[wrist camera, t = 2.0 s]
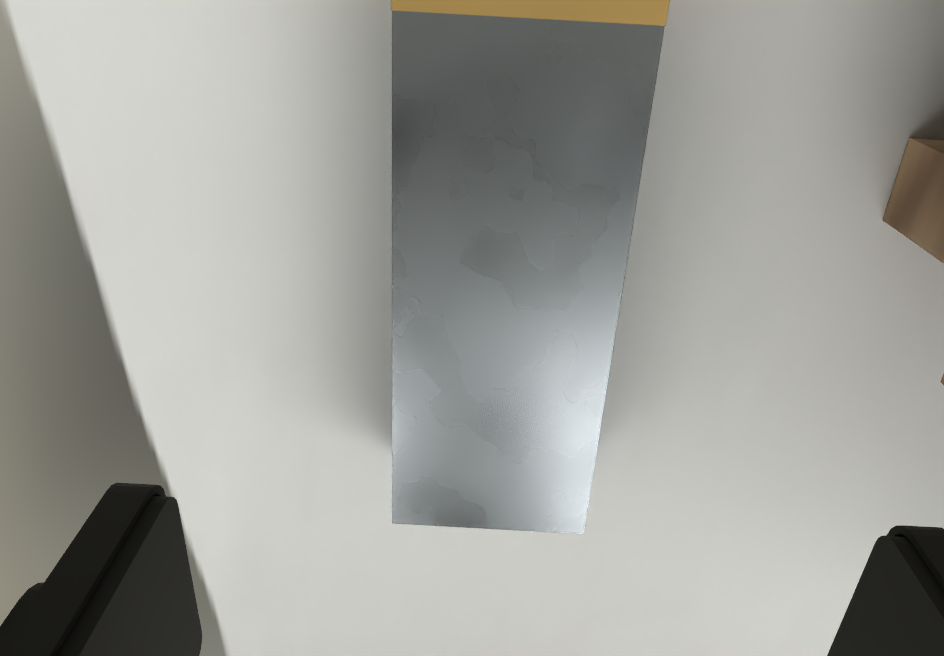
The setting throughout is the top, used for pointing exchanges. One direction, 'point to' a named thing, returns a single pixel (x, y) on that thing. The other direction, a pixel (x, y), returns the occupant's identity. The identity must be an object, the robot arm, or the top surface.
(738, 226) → the top surface
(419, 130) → the slab
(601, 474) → the top surface
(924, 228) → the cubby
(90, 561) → the robot arm
